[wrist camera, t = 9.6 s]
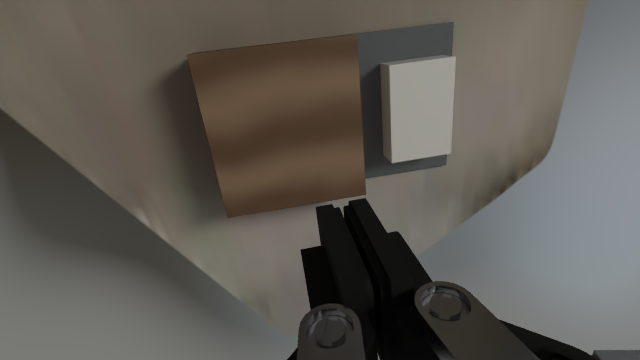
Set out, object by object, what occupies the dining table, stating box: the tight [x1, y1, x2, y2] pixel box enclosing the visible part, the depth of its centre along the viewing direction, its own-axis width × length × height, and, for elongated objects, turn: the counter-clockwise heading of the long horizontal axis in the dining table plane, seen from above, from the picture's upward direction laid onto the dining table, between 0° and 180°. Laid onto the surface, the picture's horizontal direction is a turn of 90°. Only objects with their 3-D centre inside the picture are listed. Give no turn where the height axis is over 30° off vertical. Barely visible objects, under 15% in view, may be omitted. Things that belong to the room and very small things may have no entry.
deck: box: [187, 35, 366, 218], centre depth 30 cm, size 14×13×4 cm
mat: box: [350, 22, 454, 178], centre depth 33 cm, size 14×10×1 cm
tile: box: [380, 55, 456, 163], centre depth 32 cm, size 9×6×2 cm, turn 7°
